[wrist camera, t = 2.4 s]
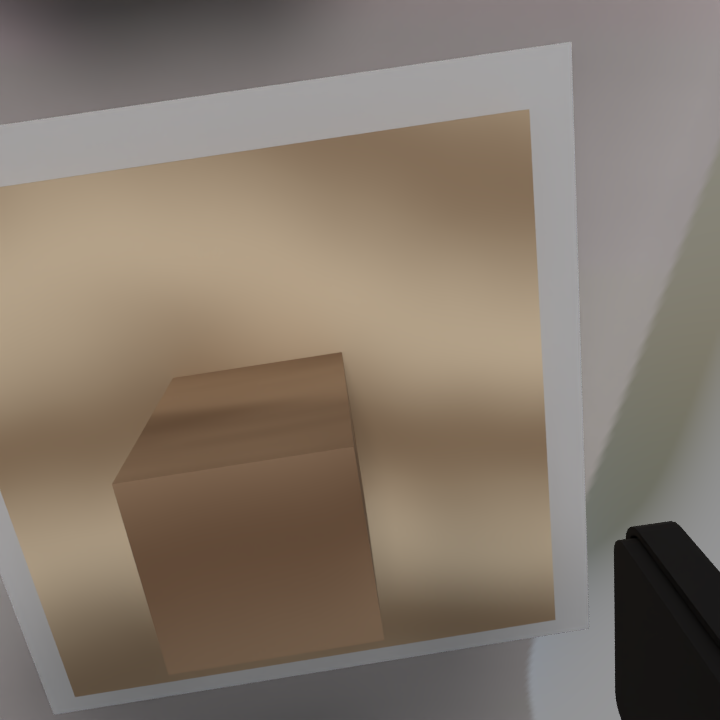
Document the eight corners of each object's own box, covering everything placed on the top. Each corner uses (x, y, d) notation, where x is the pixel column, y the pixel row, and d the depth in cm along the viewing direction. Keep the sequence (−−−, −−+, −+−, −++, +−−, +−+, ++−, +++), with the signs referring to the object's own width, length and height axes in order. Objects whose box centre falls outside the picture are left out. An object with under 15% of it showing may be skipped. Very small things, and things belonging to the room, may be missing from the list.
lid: (546, 601, 19) (637, 785, 14) (84, 674, 19) (-8, 892, 14) (518, 110, 15) (637, 96, 9) (-83, 198, 15) (-319, 238, 9)
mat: (581, 614, 20) (589, 628, 20) (61, 698, 20) (53, 714, 20) (561, 44, 15) (571, 41, 15) (-144, 147, 15) (-162, 148, 14)
